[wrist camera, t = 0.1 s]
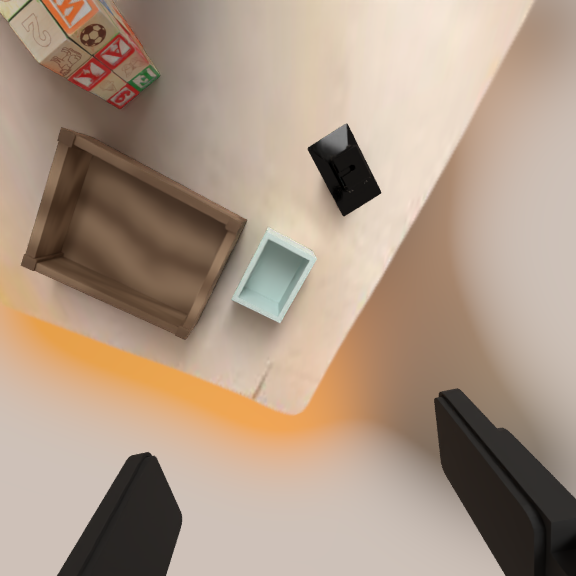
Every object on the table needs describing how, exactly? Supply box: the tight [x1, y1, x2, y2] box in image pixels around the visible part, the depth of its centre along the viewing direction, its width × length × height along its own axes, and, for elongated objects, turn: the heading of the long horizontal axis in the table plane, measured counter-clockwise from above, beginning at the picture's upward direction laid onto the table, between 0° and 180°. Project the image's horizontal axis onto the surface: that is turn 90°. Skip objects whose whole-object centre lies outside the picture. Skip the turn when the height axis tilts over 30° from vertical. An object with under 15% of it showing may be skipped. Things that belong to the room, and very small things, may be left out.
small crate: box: [231, 227, 317, 323], centre depth 37 cm, size 9×6×6 cm
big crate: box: [21, 127, 247, 340], centre depth 36 cm, size 16×20×5 cm
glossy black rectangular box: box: [308, 124, 381, 216], centre depth 35 cm, size 12×7×5 cm, turn 31°
